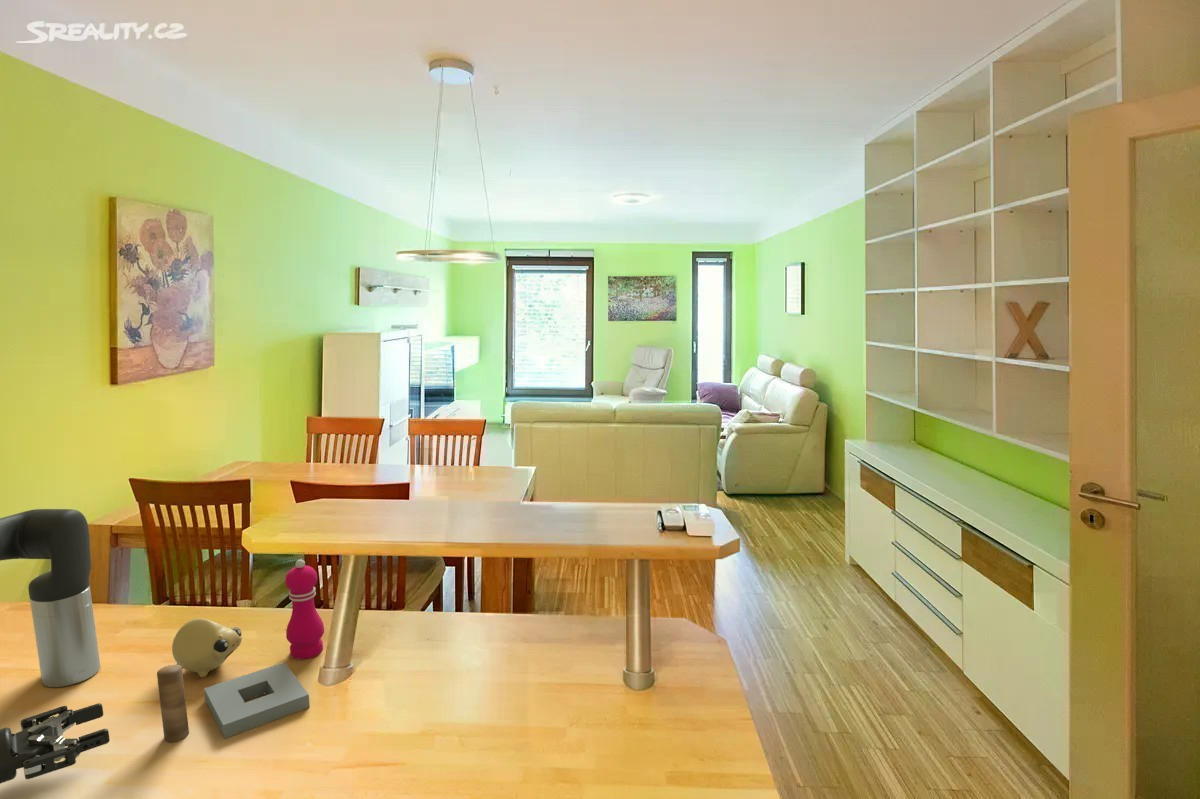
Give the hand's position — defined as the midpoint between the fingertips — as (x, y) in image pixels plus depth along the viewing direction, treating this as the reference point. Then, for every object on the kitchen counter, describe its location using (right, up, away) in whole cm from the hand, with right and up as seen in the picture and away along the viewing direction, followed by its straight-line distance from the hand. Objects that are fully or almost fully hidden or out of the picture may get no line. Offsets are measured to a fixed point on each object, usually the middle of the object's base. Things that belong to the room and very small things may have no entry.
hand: (105, 721), depth 116 cm
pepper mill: (+18, -1, +34) cm, 39 cm away
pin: (+7, -6, +7) cm, 11 cm away
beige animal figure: (+2, -2, +27) cm, 27 cm away
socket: (+17, -4, +16) cm, 23 cm away
